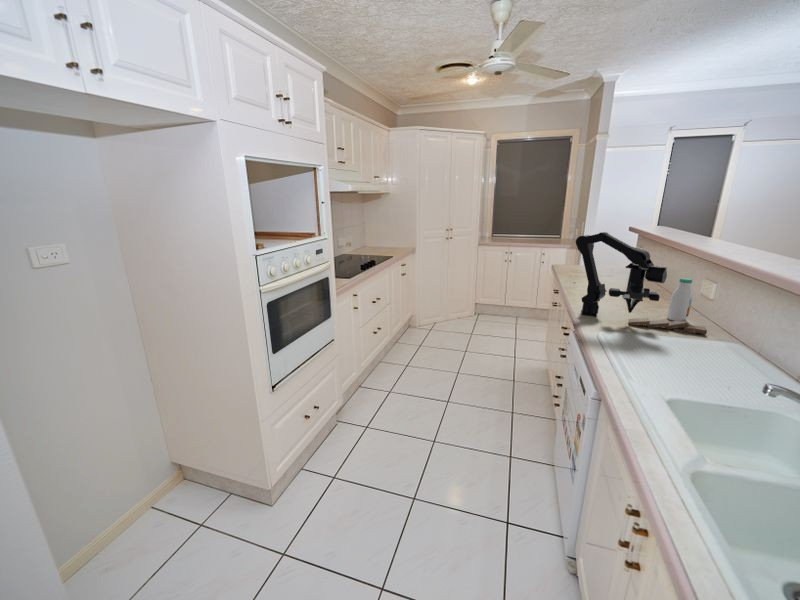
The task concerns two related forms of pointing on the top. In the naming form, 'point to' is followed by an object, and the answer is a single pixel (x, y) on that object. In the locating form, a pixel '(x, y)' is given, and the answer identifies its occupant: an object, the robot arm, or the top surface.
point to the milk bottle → (680, 301)
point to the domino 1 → (639, 321)
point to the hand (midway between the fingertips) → (629, 312)
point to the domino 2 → (658, 323)
